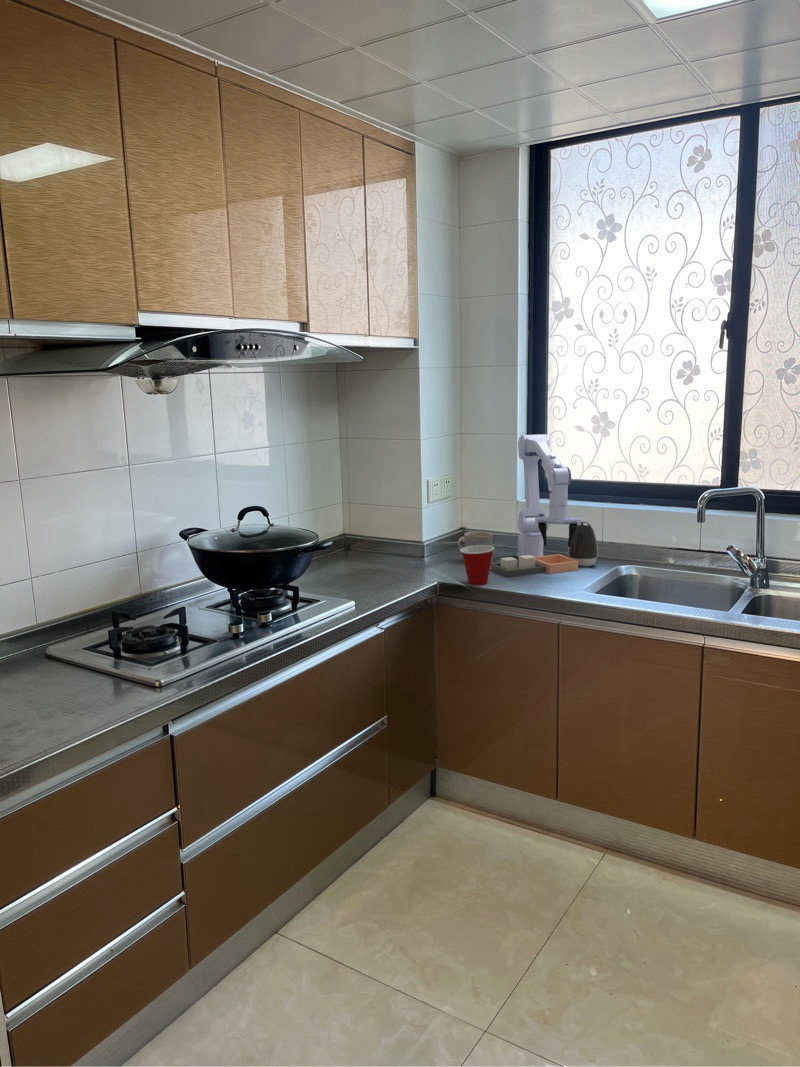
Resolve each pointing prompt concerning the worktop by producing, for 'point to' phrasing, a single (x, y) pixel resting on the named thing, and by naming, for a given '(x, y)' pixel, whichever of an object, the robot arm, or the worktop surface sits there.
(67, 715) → the worktop surface
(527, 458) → the robot arm
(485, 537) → the coffee mug
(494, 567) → the parts tray
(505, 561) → the stone
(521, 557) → the stone
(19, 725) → the worktop surface
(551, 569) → the terracotta dish
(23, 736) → the worktop surface
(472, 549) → the plastic cup
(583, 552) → the dark grey rounded dome
